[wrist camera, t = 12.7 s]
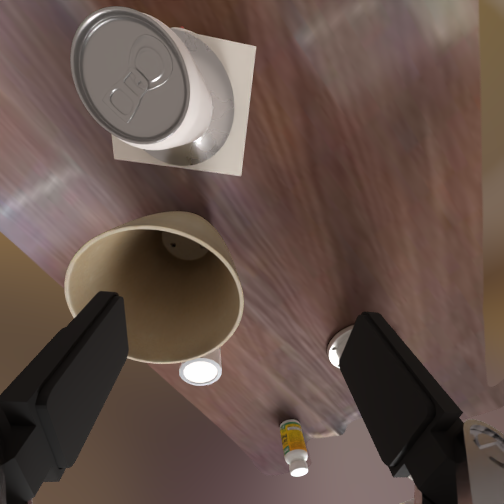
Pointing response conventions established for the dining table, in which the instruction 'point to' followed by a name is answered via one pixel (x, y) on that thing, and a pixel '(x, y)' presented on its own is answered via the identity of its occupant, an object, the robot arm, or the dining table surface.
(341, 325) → the dining table surface
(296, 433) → the supplement bottle
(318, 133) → the dining table surface
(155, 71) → the can
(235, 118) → the scale housing
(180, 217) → the plant pot
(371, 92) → the dining table surface
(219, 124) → the scale pan
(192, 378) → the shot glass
